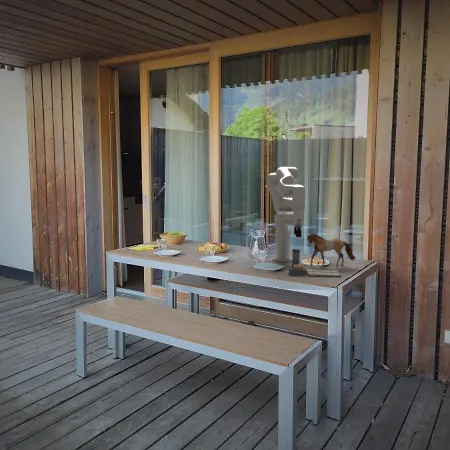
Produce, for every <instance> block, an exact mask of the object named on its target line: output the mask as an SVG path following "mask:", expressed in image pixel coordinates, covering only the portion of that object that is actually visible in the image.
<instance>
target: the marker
mask: <svg viewBox="0 0 450 450" xmlns="http://www.w3.org/2000/svg"><path fill="white" fill-rule="evenodd" d="M291 252H292V254H291V258H292V260H291V261H292V262H291V266H293V265H294V264H301V263H300V262H301V261H300V260H301V259H300V258H301V257H300V256H301V255H300V254H301V249H300V248H292V251H291Z"/></svg>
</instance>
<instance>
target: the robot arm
mask: <svg viewBox="0 0 450 450" xmlns="http://www.w3.org/2000/svg"><path fill="white" fill-rule="evenodd" d="M299 174H300V173H299V170H298V168H297V167H294V166H280V167H278V168H277V169H276V170H275V172H273V173H269V174H268V175H267V177H266V185H267V186H266V187H267V189H268V192H269V193H270V195H271V200H272V204H273V208H274V211H275V212H276V213H275V215H274V225H275V226H274V227H275V248H274V249H275V252H274V253H275V254H274V255H275V256H273V257H272V261H276V262H283V263H284V262H285V263H286V262H291V261H292V256H291V231H290V230H289V229H288V228H287V227H293V234H294V235H295V237H296V238H302V227H303V218H304V217H303V215H304V214H303V213H304V212H303V211H304V210H306V187H305V186H304V185H302V184H294V183H295V182H296V181H297V180H298V178H299V176H300V175H299Z"/></svg>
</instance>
